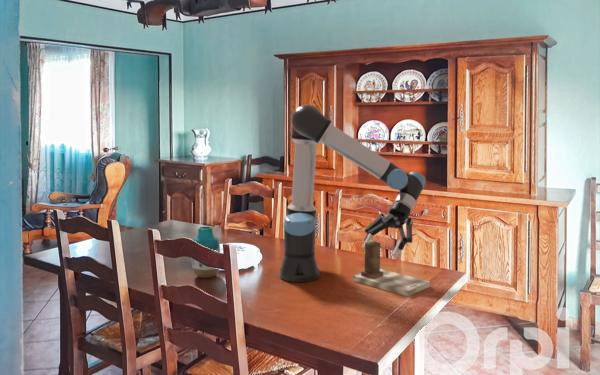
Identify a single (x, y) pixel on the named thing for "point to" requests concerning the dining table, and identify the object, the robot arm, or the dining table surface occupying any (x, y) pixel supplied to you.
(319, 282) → the dining table surface
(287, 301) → the dining table surface
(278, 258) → the dining table surface
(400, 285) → the board
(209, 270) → the vase
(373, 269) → the brown pillar
